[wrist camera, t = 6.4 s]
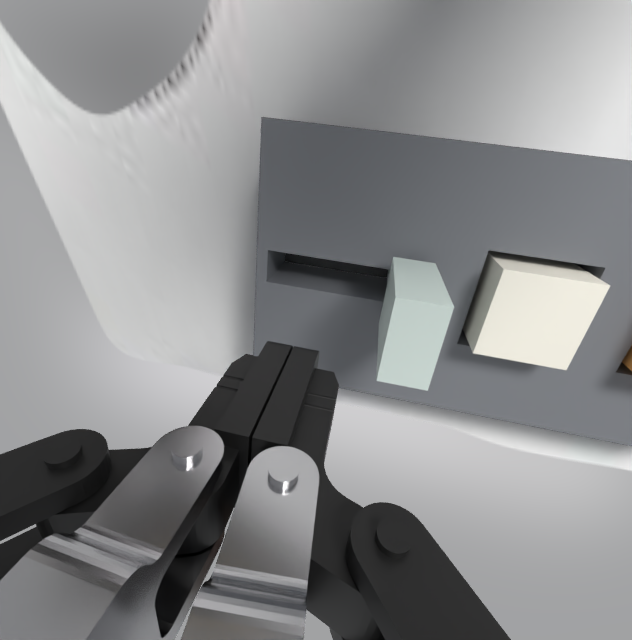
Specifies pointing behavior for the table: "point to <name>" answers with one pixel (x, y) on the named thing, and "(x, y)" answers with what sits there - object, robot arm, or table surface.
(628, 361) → the orange button
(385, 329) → the pale green rectangular block
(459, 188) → the switch panel
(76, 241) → the table surface
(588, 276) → the cream button
